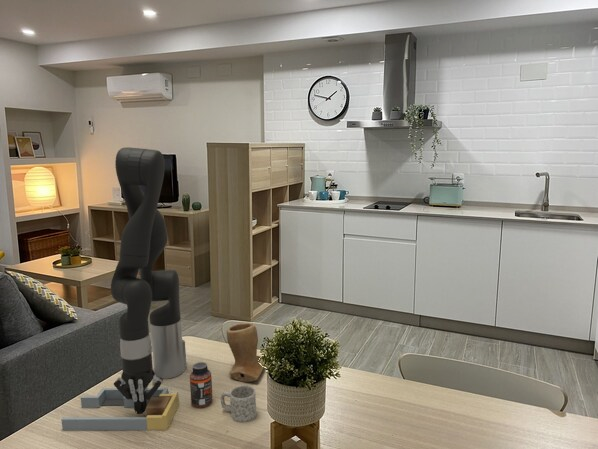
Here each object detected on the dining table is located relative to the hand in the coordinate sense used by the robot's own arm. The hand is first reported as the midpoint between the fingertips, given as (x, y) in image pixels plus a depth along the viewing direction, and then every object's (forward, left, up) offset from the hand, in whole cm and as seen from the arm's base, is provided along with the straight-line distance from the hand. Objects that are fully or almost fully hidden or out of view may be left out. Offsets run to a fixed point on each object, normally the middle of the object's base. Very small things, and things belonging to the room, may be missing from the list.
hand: (141, 412), depth 123 cm
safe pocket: (-3, +5, -1) cm, 6 cm away
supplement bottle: (-14, +8, -2) cm, 16 cm away
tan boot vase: (-34, +6, -2) cm, 35 cm away
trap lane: (+2, -7, -1) cm, 7 cm away
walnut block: (-3, +4, -2) cm, 5 cm away
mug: (-16, +20, -2) cm, 26 cm away
